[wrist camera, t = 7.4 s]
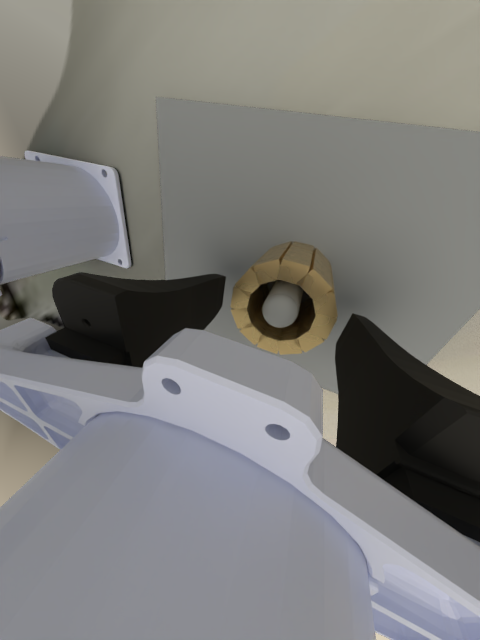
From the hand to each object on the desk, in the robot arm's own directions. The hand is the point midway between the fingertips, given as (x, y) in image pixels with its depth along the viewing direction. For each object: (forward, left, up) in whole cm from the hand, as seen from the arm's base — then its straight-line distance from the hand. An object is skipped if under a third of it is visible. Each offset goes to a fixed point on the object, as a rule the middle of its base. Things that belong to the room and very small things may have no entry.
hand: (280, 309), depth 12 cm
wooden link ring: (0, 0, -4) cm, 4 cm away
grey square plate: (0, 0, -5) cm, 5 cm away
